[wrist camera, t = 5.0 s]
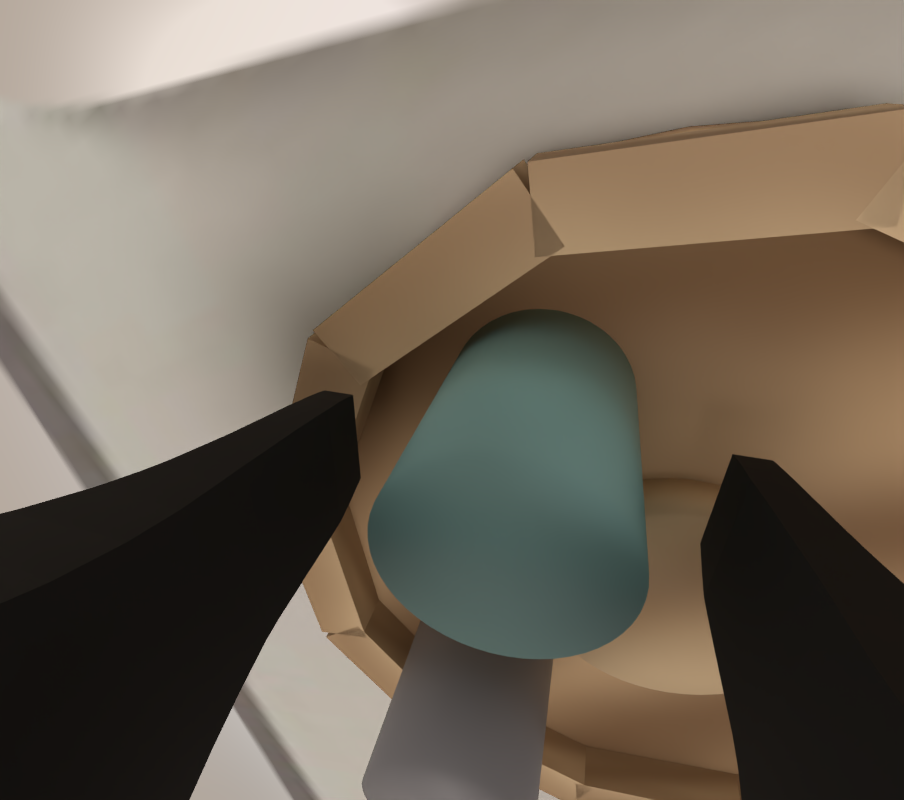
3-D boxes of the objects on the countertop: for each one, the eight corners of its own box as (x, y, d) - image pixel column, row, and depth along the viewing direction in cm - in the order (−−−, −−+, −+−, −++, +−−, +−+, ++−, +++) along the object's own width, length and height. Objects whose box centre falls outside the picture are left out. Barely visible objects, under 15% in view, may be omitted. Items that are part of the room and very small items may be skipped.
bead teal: (670, 430, 11) (702, 631, 7) (512, 489, 13) (466, 676, 9) (576, 271, 10) (549, 403, 6) (419, 362, 12) (315, 509, 8)
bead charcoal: (581, 653, 16) (569, 859, 11) (477, 677, 18) (434, 861, 13) (502, 562, 15) (458, 753, 10) (401, 599, 17) (328, 771, 12)
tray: (1322, 715, 12) (1452, 831, 10) (556, 784, 22) (550, 849, 20) (1029, -251, 7) (1189, -381, 5) (197, 423, 16) (145, 465, 15)
